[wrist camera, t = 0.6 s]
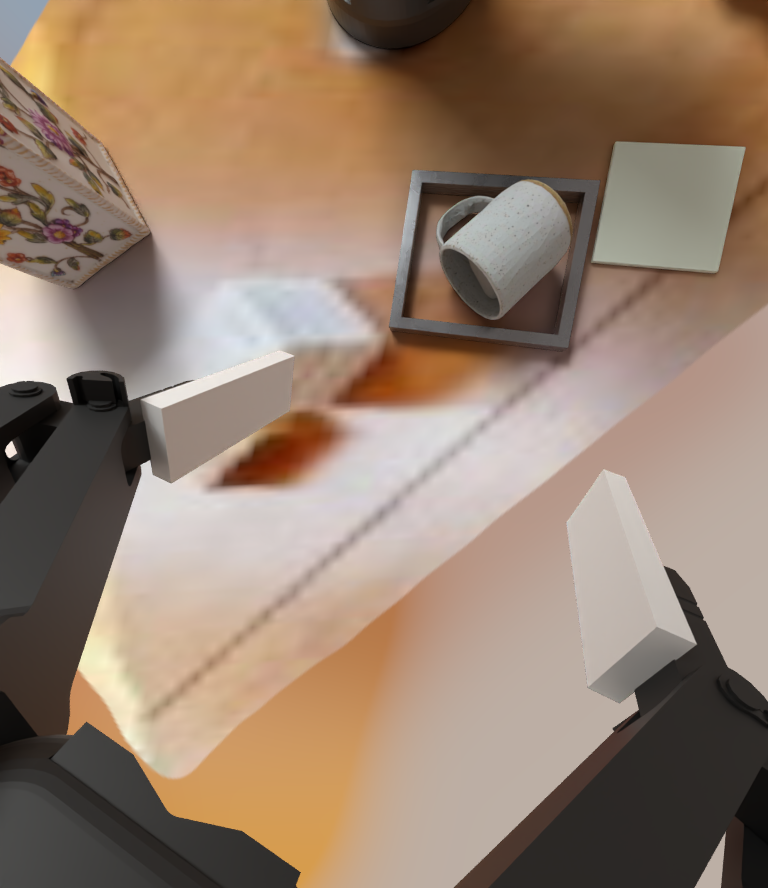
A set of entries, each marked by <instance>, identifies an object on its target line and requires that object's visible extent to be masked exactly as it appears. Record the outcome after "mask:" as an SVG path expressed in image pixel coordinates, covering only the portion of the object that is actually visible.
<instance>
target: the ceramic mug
mask: <svg viewBox="0 0 768 888" xmlns="http://www.w3.org/2000/svg"><path fill="white" fill-rule="evenodd" d="M478 212H480V213H479V214H478V215H476V216H475V217H474V218H473V219H472V220H471V221H469V222H468V223H467V224H466V225H465V226H464V227H462V228H461V229H460V230H459V231H458V232H457V233H456V234H455V235H453V236H452V237H451V238H450V239H449V240H448V241H446V243H445V244H444V242H443V238H444V236H445V235H446V233H447V231H448V230H449V229H450V228H451V227H453V226H454V225H455V224H456V223H457V222H459V221H460V220H461V219H462V218H464V217H466V216H467V215H468V214H471V213H478ZM436 238H437V242H438V245H439V248H440V262H441V265H442V268H443V271H444V273H445V275H446V277H447V279H448V280H449V282H450V284H451V286H452V287H453V289H454V290H455V291H456V292H457V293H458V295H459V296H460V297H461V299H462V300H463V301H464V302H465V303H466V304H467V305H468V306H469V307H470V308H471V309H473V310H474V311H475V312H476V313H478V314H479V315H481V316H483V317H485V318H487V319H490V320H496V319H500V318H501V317H502V316H503V315H504V314H505V313H506V312H508V311H509V310H510V309H511V308H512V307H513V306H514V305H515V304H516V303H517V302H518V301H519V300H520V299H521V298H522V297H523V296H524V295H525V294H526V293H527V292H528V291H529V290H530V289H531V288H532V287H533V286H534V285H535V284H536V283H537V282H539V281H540V280H541V279H542V278H543V277H544V276H545V275H546V274H547V273H548V272H549V271H550V270H551V269H552V268H553V267H554V266H555V265H556V264H557V263H558V262H559V261H560V259H561V258H562V257H563V255H564V254H565V253H566V252H567V250H568V248H569V246H570V243H571V240H572V221H571V217H570V214H569V212H568V209H567V207H566V204H565V203H564V202H563V200H562V199H561V197H560V196H559V195H558V194H557V193H556V192H555V191H554V190H553V189H552V188H551V187H549V186H548V185H546V184H545V183H542V182H540V181H537V180H530V179H527V180H521V181H519V182H517V183H515V184H513V185H512V186H510V187H509V188H507V189H506V190H504V191H503V192H501V193H500V194H499V195H498V196H497V197H496V198H495V199H494V198H490V197H487V196H474V197H470V198H467V199H464V200H462V201H460V202H458V203H457V204H455V205H454V206H452V207H451V208H450V209H449V210H448V211H447V212H446V213H445V214H444V215H443V216H442V217H441V219H440V220H439V222H438V225H437V230H436Z"/></svg>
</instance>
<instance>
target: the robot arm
mask: <svg viewBox="0 0 768 888" xmlns="http://www.w3.org/2000/svg"><path fill="white" fill-rule="evenodd" d="M327 1H328V4H329V6H330V9H331V11H332V13H333V15H334V17H335V18H336V20H337V21H338V22H339V24H340V25H341V26H342V27H343V28H344V29H345V30H346V31H347V32H348V33H349V34H350V35H352V36H353V37H354V38H356V39H357V40H359V41H361V42H363V43H366V44H368V45H371V46H375V47H380V48H403V47H408V46H412V45H415V44H418V43H421V42H423V41H425V40H428V39H429V38H431V37H433V36H435V35H436V34H438V33H440V32H441V31H442V30H444V29H445V28H446V27H448V26H449V25H450V24H451V23H452V22H453V21H454V20H455V19H456V18H457V17H458V16H459V15H460V14H461V13H462V11H463V10H464V9H465V8H466V6H467V5H468V4H469V2H470V0H327ZM293 368H294V356H293V355H291V354H288V353H285V352H283V351H277V352H274V353H271V354H268V355H265V356H263V357H260V358H257V359H254V360H251V361H248V362H245V363H243V364H240V365H237V366H234V367H231V368H228V369H226V370H223V371H220V372H217V373H214V374H211V375H209V376H206V377H203V378H200V379H197V380H192V381H185V382H183V383H180V384H177V385H174V386H173V387H168V388H165V389H163V391H162V390H159V391H157V392H154V393H151V394H148V395H145V396H142V397H139V398H136V399H133V400H130V401H128V396H127V391H126V385H125V380H124V377H122V376H121V375H120V374H117V373H114V372H108V371H86V372H80V373H77V374H73V375H71V376H70V377H68V378H67V382H68V386H69V390H70V393H71V397H72V400H73V403H69V402H64V401H60V400H59V397H58V394H57V390H56V387H54V386H53V385H51V384H47V383H43V382H34V381H26V382H25V381H21V382H17V383H13V384H8V385H5V386H3V387H0V888H297V887H296V883H297V881H298V878H299V875H300V873H301V872H299V871H298V870H297V869H295V868H294V867H292V866H291V865H289V864H288V863H287V862H285V861H284V860H282V859H281V858H279V857H278V856H277V855H275V854H274V853H272V852H271V851H270V850H268V849H267V848H265V847H264V846H262V845H261V844H260V843H258V842H257V841H255V840H254V839H253V838H251V837H249V836H248V835H247V834H245V833H244V832H242V831H239V830H235V829H230V828H225V827H221V826H216V825H212V824H207V823H202V822H198V821H193V820H189V819H184V818H179V817H175V816H173V815H171V814H170V813H169V812H168V811H167V810H166V808H165V807H164V805H163V803H162V802H161V800H160V798H159V797H158V795H157V793H156V792H155V790H154V788H153V787H152V785H151V783H150V782H149V780H148V778H147V777H146V775H145V773H144V772H143V770H142V768H141V767H140V765H139V763H138V762H137V760H136V759H135V757H134V755H133V754H132V753H130V752H129V751H127V750H126V749H124V748H123V747H121V746H120V745H119V744H117V743H116V742H114V741H113V740H112V739H110V738H109V737H107V736H106V735H105V734H103V733H102V732H100V731H99V730H97V729H96V728H94V727H93V726H92V725H90V724H89V723H87V722H86V723H85V724H84V725H83V726H82V727H81V728H80V729H79V730H78V731H77V732H76V733H75V734H74V735H66V734H67V730H68V724H69V716H70V691H71V687H72V683H73V680H74V677H75V674H76V671H77V668H78V665H79V662H80V659H81V656H82V653H83V650H84V647H85V644H86V640H87V637H88V634H89V631H90V628H91V625H92V622H93V619H94V616H95V613H96V610H97V607H98V604H99V601H100V598H101V595H102V592H103V589H104V586H105V583H106V580H107V577H108V574H109V571H110V568H111V565H112V562H113V559H114V556H115V553H116V550H117V547H118V544H119V541H120V538H121V535H122V532H123V529H124V525H125V522H126V519H127V516H128V513H129V510H130V507H131V504H132V501H133V498H134V495H135V492H136V489H137V486H138V483H139V480H140V477H141V466H140V465H141V464H143V463H145V462H147V461H149V460H150V461H151V467H152V473H153V475H155V476H157V477H159V478H161V479H163V480H165V481H167V482H169V483H173V482H175V481H176V480H178V479H179V478H181V477H183V476H184V475H186V474H188V473H189V472H191V471H193V470H194V469H196V468H197V467H199V466H201V465H202V464H204V463H206V462H207V461H209V460H210V459H212V458H214V457H215V456H217V455H219V454H220V453H222V452H223V451H225V450H227V449H228V448H230V447H232V446H233V445H235V444H236V443H238V442H240V441H241V440H243V439H245V438H246V437H248V436H249V435H251V434H253V433H254V432H256V431H258V430H259V429H261V428H263V427H264V426H266V425H267V424H269V423H271V422H272V421H274V420H276V419H277V418H279V417H280V416H282V415H284V414H285V413H287V412H289V411H290V402H291V391H292V379H293ZM11 441H13V444H14V446H15V449H16V451H17V454H15V455H14V456H13V457H11V458H8V457H7V455H6V453H5V449H6V446H7V445H8V444H9V443H10V442H11ZM566 523H567V530H568V538H569V546H570V554H571V562H572V570H573V578H574V586H575V594H576V601H577V609H578V617H579V625H580V633H581V640H582V648H583V656H584V664H585V672H586V680H587V687H588V688H589V689H591V690H593V691H595V692H597V693H599V694H601V695H603V696H606V697H608V698H610V699H612V700H614V701H616V702H618V703H621V702H622V701H623V700H625V699H626V698H627V697H629V696H630V695H631V694H633V693H634V692H635V695H636V699H637V703H638V707H639V710H638V711H637V712H635V713H634V714H632V715H631V716H629V717H628V718H627V719H625V720H624V721H622V722H621V723H620V724H618V725H617V726H615V727H614V728H613V730H614V732H613V733H612V734H611V735H610V736H609V737H608V738H607V739H606V740H605V741H604V742H603V743H602V744H601V745H600V746H599V747H598V748H597V749H596V750H595V751H594V752H593V753H592V754H591V755H590V756H589V757H588V758H587V759H586V760H584V761H583V762H582V763H581V764H580V765H579V766H578V767H577V768H576V769H575V770H574V771H573V772H572V773H571V774H570V775H569V776H568V777H567V778H566V779H565V780H564V781H563V782H562V783H561V784H560V785H559V786H558V787H557V788H556V789H555V790H554V791H553V792H552V793H551V794H550V795H549V796H547V797H546V798H545V799H544V800H543V801H542V802H541V803H540V804H539V805H538V806H537V807H536V808H535V809H534V810H533V811H532V812H531V813H530V814H529V815H528V816H527V817H526V818H525V819H524V820H523V821H522V822H521V823H520V824H519V825H518V826H517V827H516V828H515V829H514V830H512V831H511V832H510V833H509V834H508V835H507V836H506V837H505V838H504V839H503V840H502V841H501V842H500V843H499V844H498V845H497V846H496V847H495V848H494V849H493V850H492V851H491V852H490V853H489V854H488V855H487V856H486V857H485V858H484V859H483V860H482V861H481V862H480V863H479V864H478V865H477V866H475V868H473V870H471V871H470V873H468V874H467V875H466V876H465V877H464V878H463V879H462V880H461V881H460V882H459V883H458V884H457V885H456V886H455V887H454V888H694V887H695V886H696V884H697V882H698V880H699V878H700V877H701V875H702V873H703V871H704V870H705V868H706V866H707V864H708V862H709V860H710V859H711V856H712V855H713V853H714V851H715V850H716V848H717V846H718V844H719V843H720V841H721V839H722V837H723V835H724V834H725V832H726V837H725V849H724V860H723V872H722V883H721V888H768V701H767V700H766V699H765V697H764V696H763V695H762V694H761V693H760V692H759V691H758V690H757V689H756V688H755V687H754V686H753V685H752V684H751V683H750V682H749V681H747V680H746V679H745V678H743V677H742V676H741V675H739V674H738V673H737V672H735V671H734V670H731V669H730V668H728V667H727V665H726V663H725V661H724V659H723V656H722V654H721V652H720V650H719V648H718V646H717V644H716V642H715V640H714V638H713V636H712V634H711V632H710V629H709V628H708V625H707V623H706V621H704V620H703V618H704V617H703V615H702V613H701V611H700V609H699V607H697V602H696V600H695V598H694V596H693V594H692V592H691V590H690V588H689V586H688V585H687V584H686V583H685V582H684V581H683V580H682V578H681V577H680V576H679V575H678V574H677V572H676V571H675V570H673V569H670V568H668V567H665V566H663V564H662V562H661V560H660V557H659V555H658V553H657V550H656V548H655V545H654V543H653V541H652V539H651V536H650V534H649V532H648V529H647V527H646V524H645V522H644V520H643V517H642V515H641V513H640V511H639V508H638V506H637V503H636V501H635V499H634V496H633V494H632V492H631V489H630V487H629V485H628V482H627V480H626V478H625V477H623V476H621V475H618V474H615V473H612V472H609V471H607V470H603V471H602V472H601V473H600V475H599V476H598V478H597V480H596V481H595V482H594V484H593V485H592V487H591V488H590V490H589V491H588V492H587V494H586V495H585V497H584V498H583V499H582V501H581V502H580V504H579V505H578V507H577V508H576V509H575V511H574V512H573V514H572V515H571V517H570V518H569V520H568V521H567V522H566Z"/></svg>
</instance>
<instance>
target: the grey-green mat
mask: <svg viewBox="0 0 768 888" xmlns="http://www.w3.org/2000/svg"><path fill="white" fill-rule="evenodd" d="M745 148H746V147H737V146H713V145H689V144H666V143H642V142H619V141H616V142H615V144H614V146H613V151H612V156H611V161H610V167H609V172H608V177H607V182H606V187H605V192H604V197H603V203H602V208H601V213H600V218H599V223H598V228H597V234H596V239H595V244H594V249H593V254H592V259H591V263H599V264H610V265H622V266H633V267H645V268H656V269H668V270H680V271H691V272H703V273H716V272H718V269H719V264H720V260H721V256H722V251H723V247H724V242H725V238H726V233H727V229H728V224H729V220H730V215H731V211H732V206H733V202H734V197H735V193H736V188H737V184H738V179H739V175H740V170H741V166H742V161H743V157H744V152H745Z"/></svg>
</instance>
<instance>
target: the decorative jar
mask: <svg viewBox="0 0 768 888" xmlns="http://www.w3.org/2000/svg"><path fill="white" fill-rule="evenodd" d="M149 233H150V230H149V228H148V227H147V225H146V224H145V222H144V220H143V219H142V216H141V214H140V212H139V210H138V208H137V207H136V205H135V203H134V201H133V199H132V197H131V195H130V193H129V191H128V190H127V188H126V186H125V184H124V182H123V180H122V178H121V176H120V174H119V173H118V171H117V169H116V167H115V165H114V164H113V162H112V160H111V158H110V157H109V155H108V153H107V151H106V149H105V147H104V146H103V144H102V142H101V141H99V140H98V139H97V138H96V137H94V136H93V135H92V134H91V133H90V132H88V131H87V130H86V129H85V128H84V127H83V126H81V125H80V124H79V123H78V122H77V121H76V120H74V119H73V118H72V117H71V116H70V115H69V114H68V113H66V112H65V111H64V110H63V109H61V108H60V107H59V106H58V105H57V104H56V103H55V102H53V101H52V100H51V99H50V98H48V97H47V96H46V95H45V94H44V93H43V92H41V91H40V90H39V89H38V88H36V87H35V86H34V85H33V84H32V83H31V82H29V81H28V80H27V79H26V78H25V77H23V76H22V75H21V74H20V73H18V72H17V71H16V70H15V69H14V68H12V67H11V66H10V65H8V64H7V63H6V62H5V61H4V60H3V59H1V58H0V263H1V264H3V265H6V266H9V267H11V268H14V269H16V270H19V271H22V272H24V273H27V274H30V275H32V276H35V277H38V278H41V279H43V280H47V281H49V282H52V283H55V284H58V285H61V286H64V287H68V288H77V287H79V286H80V285H81V284H82V283H84V282H85V281H86V280H88V279H89V278H90V277H92V276H93V275H94V274H95V273H97V272H98V271H99V270H100V269H101V268H103V267H104V266H105V265H107V264H109V263H110V262H111V261H113V260H114V259H116V258H117V257H118V256H120V255H121V254H122V253H124V252H125V251H126V250H127V249H129V248H130V247H131V246H132V245H134V244H135V243H137V242H138V241H140V240H142V239H143V238H144V237H145V236H147V235H149Z"/></svg>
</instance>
